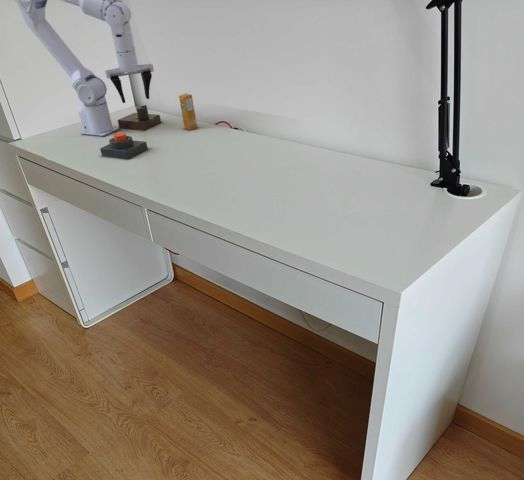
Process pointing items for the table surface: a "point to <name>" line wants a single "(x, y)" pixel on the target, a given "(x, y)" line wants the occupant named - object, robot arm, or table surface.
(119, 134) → the button
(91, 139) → the table surface
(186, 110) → the supplement box
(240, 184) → the table surface
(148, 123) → the brown wooden block
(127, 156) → the switch block
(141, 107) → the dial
